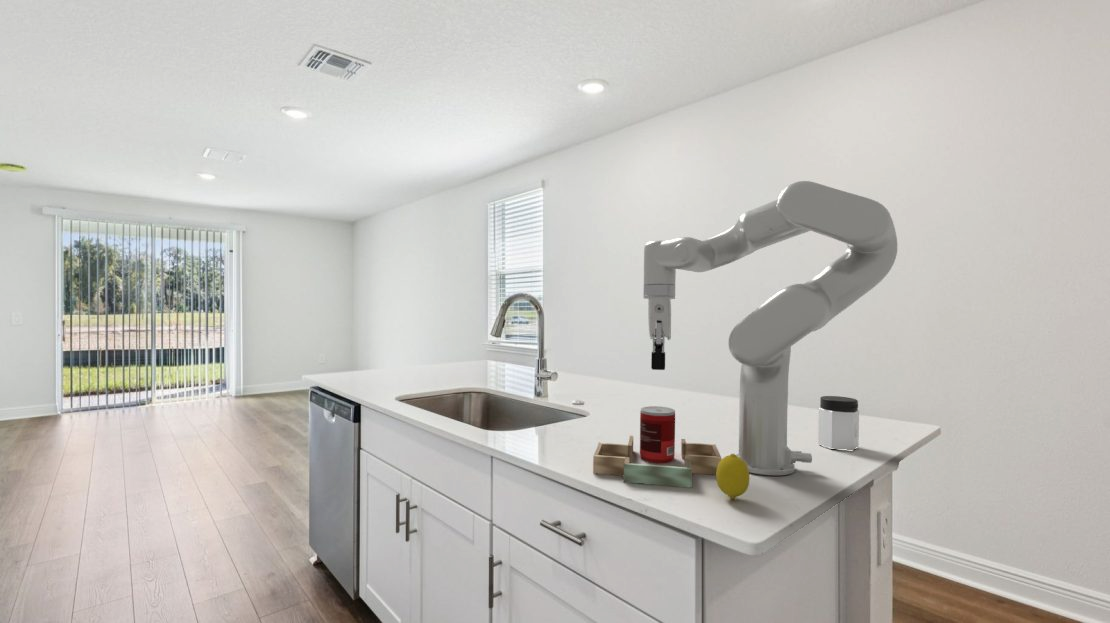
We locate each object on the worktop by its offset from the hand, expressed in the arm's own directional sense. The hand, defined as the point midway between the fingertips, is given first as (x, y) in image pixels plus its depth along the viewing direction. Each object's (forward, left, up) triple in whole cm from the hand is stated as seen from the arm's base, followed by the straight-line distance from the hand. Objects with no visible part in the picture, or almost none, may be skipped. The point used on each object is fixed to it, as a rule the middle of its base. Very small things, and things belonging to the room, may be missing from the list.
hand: (658, 368), depth 123 cm
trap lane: (0, +15, -19) cm, 24 cm away
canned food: (0, +9, -19) cm, 21 cm away
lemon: (-13, +31, -19) cm, 39 cm away
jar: (-44, -12, -19) cm, 50 cm away
